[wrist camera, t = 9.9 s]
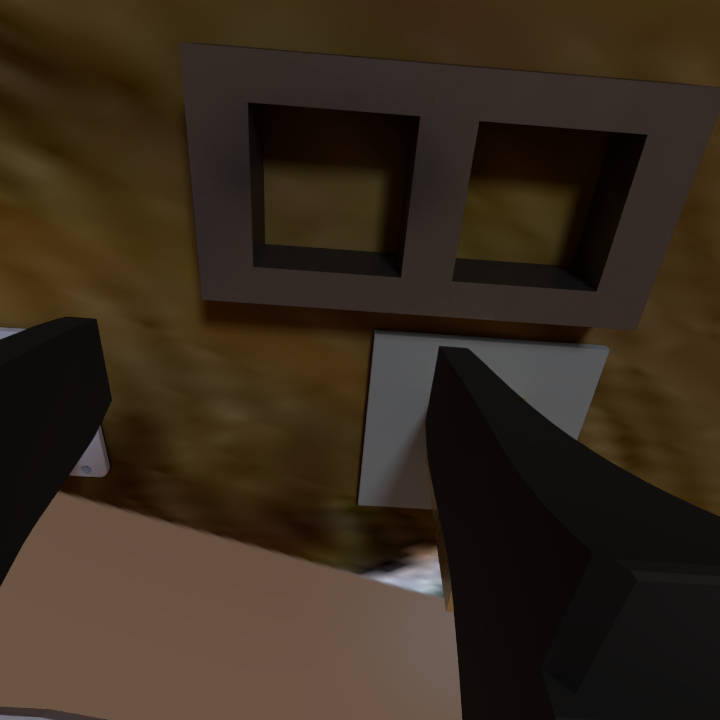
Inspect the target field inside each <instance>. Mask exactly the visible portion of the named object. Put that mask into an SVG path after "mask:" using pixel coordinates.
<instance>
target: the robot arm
mask: <svg viewBox="0 0 720 720" xmlns="http://www.w3.org/2000/svg"><path fill="white" fill-rule="evenodd" d="M111 401H112V398H111V393H110V387H109V382H108V377H107V372H106V366H105V361H104V356H103V351H102V345H101V340H100V335H99V330H98V324H97V319H91V318H78V317H63V318H59V319H55V320H52V321H49V322H46V323H43V324H40V325H37V326H34V327H31V328H29V329H17V328H2V327H0V586H1V584H2V582H3V580H4V579H5V577H6V575H7V573H8V571H9V569H10V567H11V566H12V564H13V562H14V560H15V558H16V556H17V554H18V552H19V551H20V549H21V547H22V545H23V543H24V542H25V540H26V539H27V537H28V535H29V534H30V532H31V530H32V529H33V527H34V526H35V524H36V522H37V521H38V520H39V518H40V517H41V515H42V514H43V512H44V511H45V509H46V508H47V507H48V505H49V504H50V502H51V500H52V499H53V498H54V496H55V495H56V494H57V492H58V491H59V489H60V488H61V486H62V485H63V483H64V482H65V480H66V479H67V478H68V476H69V475H71V476H87V477H103V476H105V475H106V474H107V472H108V471H109V469H110V465H109V461H108V456H107V452H106V447H105V443H104V438H103V434H102V429H101V423H102V421H103V419H104V416H105V414H106V412H107V410H108V407H109V405H110V403H111ZM425 430H426V446H427V459H428V466H429V471H430V476H431V481H432V485H433V490H434V495H435V500H436V504H437V509H438V514H439V519H440V523H441V528H442V533H443V537H444V542H445V547H446V552H447V558H448V564H449V570H450V579H451V589H452V599H453V608H454V618H455V630H456V641H457V653H458V664H459V678H460V691H461V705H462V719H463V720H720V517H719V516H717V515H714V514H712V513H710V512H708V511H705V510H703V509H701V508H699V507H697V506H695V505H692V504H690V503H688V502H686V501H684V500H682V499H679V498H677V497H675V496H673V495H671V494H669V493H667V492H665V491H663V490H661V489H659V488H657V487H655V486H653V485H651V484H649V483H647V482H645V481H644V480H642V479H640V478H638V477H636V476H635V475H633V474H631V473H629V472H627V471H626V470H624V469H622V468H620V467H618V466H617V465H615V464H613V463H611V462H610V461H608V460H606V459H605V458H603V457H602V456H600V455H598V454H597V453H595V452H594V451H592V450H591V449H589V448H588V447H586V446H585V445H583V444H582V443H580V442H579V441H577V440H576V439H574V438H573V437H571V436H570V435H568V434H567V433H565V432H564V431H563V430H561V429H560V428H559V427H557V426H556V425H555V424H553V423H552V422H551V421H550V420H548V419H547V418H546V417H544V416H543V415H542V414H541V413H539V412H538V411H537V410H536V409H534V408H533V407H532V406H531V405H530V404H529V403H527V402H526V401H525V400H524V399H523V398H522V397H520V396H519V395H518V394H517V393H516V392H515V391H514V390H513V389H511V388H510V387H509V386H508V385H507V384H506V383H505V382H504V381H503V380H502V379H501V378H500V377H499V376H497V375H496V374H495V373H494V372H493V371H492V370H491V369H490V368H489V367H488V366H487V365H486V364H485V363H484V362H483V361H482V360H481V359H480V358H479V357H478V356H476V355H475V354H474V353H473V352H472V351H471V350H470V349H468V348H461V347H449V346H439V349H438V355H437V360H436V366H435V371H434V377H433V382H432V388H431V393H430V399H429V404H428V409H427V415H426V420H425ZM86 466H88V467H90V468H88V467H86ZM0 720H106V719H100V718H94V717H89V716H83V715H78V714H73V713H67V712H62V711H56V710H50V709H33V708H14V707H0Z"/></svg>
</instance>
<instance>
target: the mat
mask: <svg viewBox="0 0 720 720" xmlns="http://www.w3.org/2000/svg"><path fill="white" fill-rule="evenodd" d="M439 346H449V347H461V348H468V349H470V350H471V351H472V352H473V353H474V354H475V355H476V356H478V357H479V358H480V359H481V360H482V361H483V362H484V363H485V364H486V365H487V366H488V367H489V368H490V369H491V370H492V371H493V372H494V373H495V374H496V375H497V376H499V377H500V378H501V379H502V380H503V381H504V382H505V383H506V384H507V385H508V386H509V387H510V388H511V389H513V390H514V391H515V392H516V393H517V394H518V395H519V396H520V397H525V398H526V400H527V402H528V403H529V404H530V405H531V406H532V407H533V408H534V409H536V410H537V411H538V412H539V413H541V414H542V415H543V416H544V417H546V418H547V419H548V420H550V421H551V422H552V423H553V424H555V425H556V426H557V427H559V428H560V429H561V430H563V431H564V432H565V433H567V434H568V435H570V436H571V437H573V438H574V439H576V440H577V439H578V436H579V433H580V431H581V428H582V425H583V422H584V420H585V417H586V414H587V411H588V408H589V406H590V403H591V400H592V397H593V395H594V392H595V389H596V386H597V384H598V381H599V378H600V375H601V373H602V370H603V367H604V364H605V361H606V359H607V356H608V353H609V349H608V348H607V346H605V345H590V344H576V343H561V342H547V341H533V340H518V339H504V338H489V337H475V336H461V335H446V334H432V333H417V332H403V331H389V330H375V333H374V343H373V353H372V364H371V374H370V384H369V394H368V405H367V415H366V425H365V435H364V446H363V456H362V466H361V476H360V487H359V497H358V505H365V506H382V507H399V508H415V509H432V507H431V500H430V493H429V486H428V479H427V472H426V465H425V455H426V450H427V446H426V430H425V420H426V415H427V409H428V404H429V399H430V393H431V388H432V382H433V377H434V371H435V366H436V360H437V355H438V349H439Z"/></svg>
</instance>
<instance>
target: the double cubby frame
mask: <svg viewBox="0 0 720 720" xmlns="http://www.w3.org/2000/svg"><path fill="white" fill-rule="evenodd" d="M179 48H180V59H181V71H182V82H183V93H184V105H185V116H186V127H187V138H188V150H189V161H190V172H191V184H192V195H193V206H194V218H195V229H196V240H197V252H198V263H199V274H200V286H201V297H202V300H212V301H226V302H240V303H254V304H268V305H283V306H297V307H311V308H325V309H340V310H354V311H368V312H382V313H396V314H411V315H425V316H439V317H453V318H468V319H482V320H496V321H510V322H524V323H539V324H553V325H567V326H581V327H596V328H610V329H624V330H636V328H637V326H638V323H639V321H640V318H641V315H642V313H643V310H644V308H645V305H646V302H647V300H648V297H649V294H650V292H651V289H652V287H653V284H654V281H655V279H656V276H657V274H658V271H659V268H660V266H661V263H662V260H663V258H664V255H665V253H666V250H667V247H668V245H669V242H670V240H671V237H672V234H673V232H674V229H675V226H676V224H677V221H678V219H679V216H680V213H681V211H682V208H683V206H684V203H685V200H686V198H687V195H688V192H689V190H690V187H691V185H692V182H693V179H694V177H695V174H696V171H697V169H698V166H699V164H700V161H701V158H702V156H703V153H704V151H705V148H706V145H707V143H708V140H709V137H710V135H711V132H712V130H713V127H714V124H715V122H716V119H717V117H718V114H719V111H720V87H710V86H701V85H692V84H682V83H670V82H658V81H646V80H634V79H622V78H610V77H598V76H587V75H575V74H563V73H551V72H539V71H527V70H515V69H503V68H491V67H479V66H467V65H455V64H443V63H431V62H419V61H407V60H395V59H383V58H372V57H360V56H348V55H336V54H324V53H312V52H300V51H288V50H276V49H264V48H252V47H240V46H228V45H216V44H204V43H180V42H179ZM262 104H275V105H287V106H300V107H312V108H324V109H337V110H349V111H361V112H374V113H386V114H399V115H411V116H413V121H412V130H411V139H410V148H409V156H408V165H407V174H406V183H405V192H404V201H403V210H402V218H401V227H400V236H399V245H398V254H392V253H379V252H365V251H351V250H338V249H324V248H310V247H297V246H283V245H270V244H265V219H264V169H263V120H262ZM479 121H485V122H497V123H510V124H522V125H535V126H547V127H559V128H572V129H584V130H596V131H609V132H612V135H611V139H610V142H609V146H608V149H607V152H606V156H605V159H604V163H603V166H602V169H601V173H600V176H599V180H598V183H597V186H596V190H595V193H594V197H593V200H592V204H591V207H590V210H589V214H588V217H587V221H586V224H585V227H584V231H583V234H582V238H581V241H580V244H579V248H578V251H577V255H576V258H575V261H574V265H573V267H569V266H555V265H542V264H528V263H515V262H501V261H487V260H474V259H460V258H456V254H457V248H458V242H459V236H460V231H461V225H462V219H463V213H464V207H465V202H466V196H467V190H468V184H469V178H470V173H471V167H472V161H473V155H474V149H475V144H476V138H477V132H478V126H479Z"/></svg>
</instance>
